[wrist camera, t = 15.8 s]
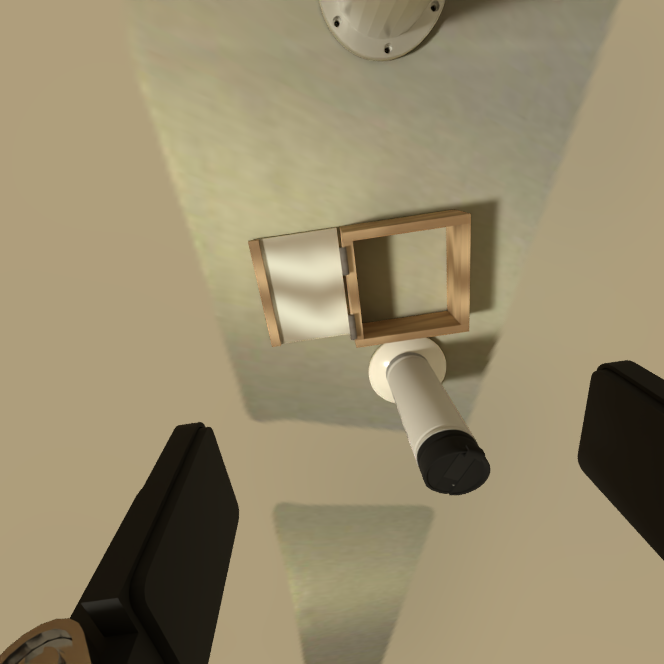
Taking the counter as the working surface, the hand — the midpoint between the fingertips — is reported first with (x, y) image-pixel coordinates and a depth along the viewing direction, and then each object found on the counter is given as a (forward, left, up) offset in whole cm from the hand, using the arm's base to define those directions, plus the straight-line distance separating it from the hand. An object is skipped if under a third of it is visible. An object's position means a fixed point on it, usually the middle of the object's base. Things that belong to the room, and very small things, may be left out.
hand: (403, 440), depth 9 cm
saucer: (+21, +8, -38) cm, 44 cm away
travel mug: (+21, +8, -38) cm, 44 cm away
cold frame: (+7, +2, -38) cm, 39 cm away
